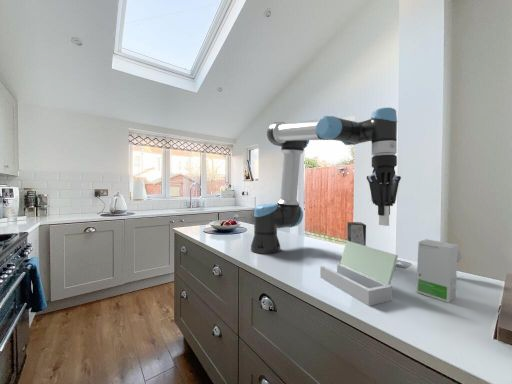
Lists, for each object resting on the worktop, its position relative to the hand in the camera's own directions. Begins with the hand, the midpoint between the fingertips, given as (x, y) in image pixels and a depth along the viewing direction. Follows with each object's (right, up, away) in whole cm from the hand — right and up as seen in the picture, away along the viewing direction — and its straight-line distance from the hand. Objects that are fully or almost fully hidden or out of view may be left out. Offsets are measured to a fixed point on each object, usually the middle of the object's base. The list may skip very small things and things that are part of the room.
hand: (384, 225), depth 79 cm
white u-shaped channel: (-13, -19, -5) cm, 24 cm away
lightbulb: (+26, -19, +5) cm, 33 cm away
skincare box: (+10, -20, -10) cm, 24 cm away
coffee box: (+1, -19, +25) cm, 32 cm away
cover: (-8, -11, -3) cm, 14 cm away
